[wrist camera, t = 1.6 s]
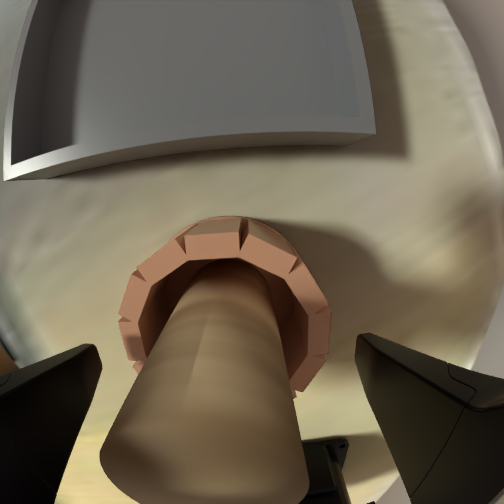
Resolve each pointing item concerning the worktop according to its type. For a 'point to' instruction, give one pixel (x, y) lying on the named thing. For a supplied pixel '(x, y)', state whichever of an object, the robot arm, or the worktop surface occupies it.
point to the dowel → (212, 403)
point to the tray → (181, 80)
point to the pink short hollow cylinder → (241, 248)
